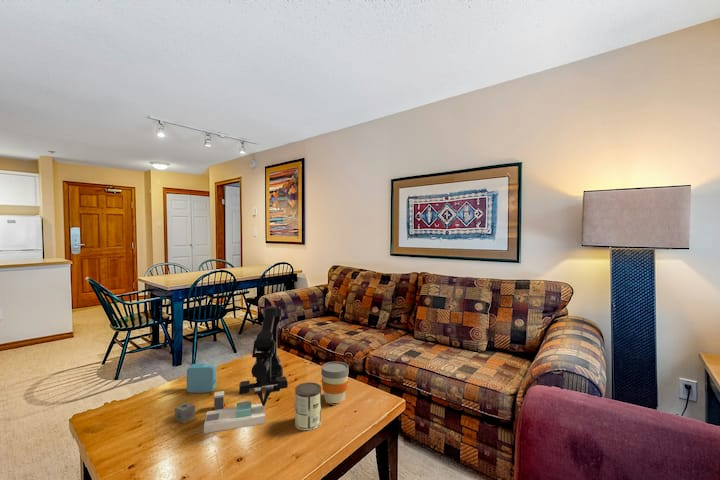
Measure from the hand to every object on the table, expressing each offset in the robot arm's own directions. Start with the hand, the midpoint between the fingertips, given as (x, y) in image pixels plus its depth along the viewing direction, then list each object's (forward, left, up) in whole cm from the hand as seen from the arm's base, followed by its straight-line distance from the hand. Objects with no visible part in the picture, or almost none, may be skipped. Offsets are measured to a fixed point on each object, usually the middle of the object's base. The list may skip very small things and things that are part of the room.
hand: (263, 405), depth 134 cm
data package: (+27, -32, -5) cm, 42 cm away
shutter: (+7, 0, -2) cm, 8 cm away
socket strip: (+11, 0, -5) cm, 11 cm away
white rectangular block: (+18, -12, -5) cm, 22 cm away
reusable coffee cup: (-31, -5, -5) cm, 32 cm away
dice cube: (+30, -8, -5) cm, 31 cm away
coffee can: (-16, +10, -5) cm, 20 cm away
